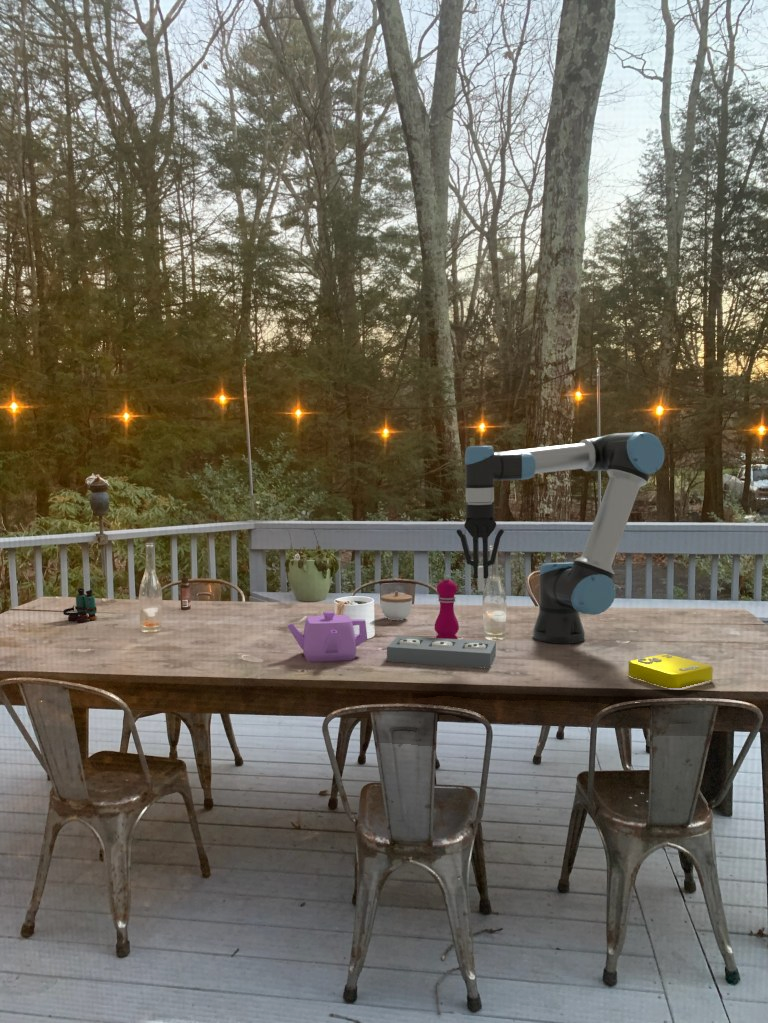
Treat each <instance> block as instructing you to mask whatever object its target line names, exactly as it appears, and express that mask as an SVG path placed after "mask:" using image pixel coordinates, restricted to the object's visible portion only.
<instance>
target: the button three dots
mask: <svg viewBox="0 0 768 1023" xmlns="http://www.w3.org/2000/svg"><path fill="white" fill-rule="evenodd" d="M465 649H480V650H486V645H485V644H483V643H468V644H465Z"/></svg>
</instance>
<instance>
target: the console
mask: <svg viewBox="0 0 768 1023" xmlns="http://www.w3.org/2000/svg"><path fill="white" fill-rule="evenodd" d="M402 639H417V640H419V641H420V645H419V646H415V645H400V640H402ZM435 641H448V642H451V643H452V644H453V647H452V648H448V647H432V642H435ZM468 643H483V644H485V645H486V650H480V649H465V644H468ZM496 650H497V642H496V641H492V640H491V641H490V640H476V639H475V640H474V639H460V638H457V639H444V638H436V637H428V636H427V637H424V636H410V635H409V636H406V635H405V636H404V635H397V636H396V638H394V639H393V641H391V642H390V643H389V644H388V645H387V646H386V662H387V661H390V662H389V663H399V662H405V663H404V664H414V663H416V664H417V665H429V664H430V665H431V666H433V665H434V666H444V665H445V667H446V665H447V666H448V667H458V666H460V668H461V666H462V668H463V667H464V668H473V667H482V668H481V669H488V668H490V669H491V668H492V666H491V665H493V663H494V662H495V661H494V660H495V659H494V658H496V655H497V651H496ZM392 661H393V662H392ZM484 667H485V668H484Z"/></svg>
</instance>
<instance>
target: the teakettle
mask: <svg viewBox="0 0 768 1023" xmlns="http://www.w3.org/2000/svg"><path fill="white" fill-rule="evenodd" d="M335 613H336V612H335V611H332V610H327V611H323V612H322V615H308V616H306V619H305V622H304V623H305V624H304V628H303V633H302V632H301V630H300V629H298V628H297V626H295V624H294V623H288V624H287V625H286V626H287V628H288V630H289V631H290V633H291V634H292V636H293V637H294V639H295V641H296V642H297V644H298V645H299V646H300V648H301V650H302V651H303V654H304V657H305V660H306V661H307V662H308V663H309V662H311V663H312V662H313V663H319V662H320V663H322V662H324V663H325V662H328V661H329V662H341V661H342V660H345V661H352V659H353V660H355V658H356V654H357V647H358V646H360V645H361V644H362V643H364V642H366V641H368V632H367V625H366V619H363V618H362V619H351V617H350V616H349V615H348V614H335ZM354 626H359V629H358V630H359V632H358V634H357V635H355V630H354ZM342 662H343V661H342Z"/></svg>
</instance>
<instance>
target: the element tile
mask: <svg viewBox="0 0 768 1023" xmlns="http://www.w3.org/2000/svg"><path fill="white" fill-rule="evenodd" d="M713 669H714V668H713V666H712V665H711V664H707V663H703V662H699V661H696V660H691V659H688V658H684V657H679V656H676V655H672V654H669V653H661V654H656V655H651V656H646V657H640V658H636V659H631V660H628V673H627V674H628V675H629V676H631V677H633V678H637V679H641V680H644V681H646V682H649V683H652V684H656V685H659V686H663V687H667V688H682V687H686V686H690V685H694V684H698V683H702V682H705V681H709V680H712V681H713V673H714V672H713ZM629 676H628V677H629Z"/></svg>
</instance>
